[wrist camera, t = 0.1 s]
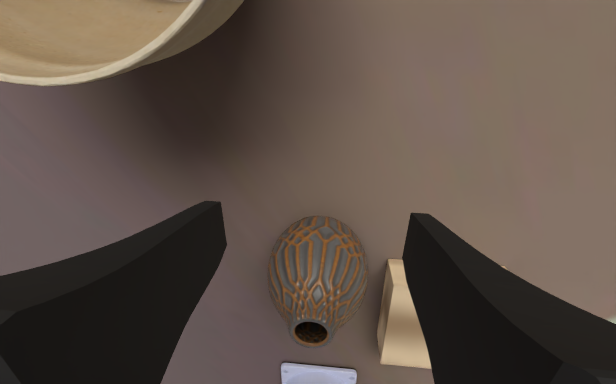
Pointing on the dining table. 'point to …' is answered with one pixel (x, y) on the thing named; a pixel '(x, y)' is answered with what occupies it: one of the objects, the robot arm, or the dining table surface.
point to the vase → (317, 278)
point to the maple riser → (400, 322)
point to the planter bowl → (98, 36)
